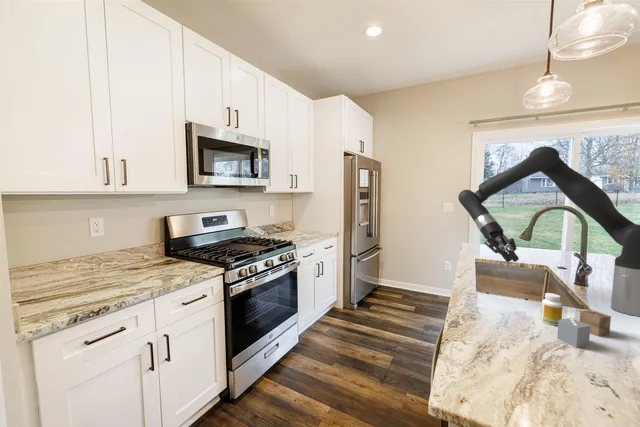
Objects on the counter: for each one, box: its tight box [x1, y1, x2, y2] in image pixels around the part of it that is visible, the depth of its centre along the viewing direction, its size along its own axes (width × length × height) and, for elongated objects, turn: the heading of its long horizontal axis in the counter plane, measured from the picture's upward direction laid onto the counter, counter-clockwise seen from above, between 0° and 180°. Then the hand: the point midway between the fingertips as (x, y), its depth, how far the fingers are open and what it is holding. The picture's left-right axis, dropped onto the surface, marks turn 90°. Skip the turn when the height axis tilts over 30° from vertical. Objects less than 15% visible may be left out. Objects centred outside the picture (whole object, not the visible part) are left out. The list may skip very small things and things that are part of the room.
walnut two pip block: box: [579, 309, 612, 337], centre depth 86 cm, size 5×5×6 cm
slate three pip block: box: [556, 317, 591, 349], centre depth 80 cm, size 5×5×6 cm
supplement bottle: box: [540, 292, 564, 327], centre depth 92 cm, size 5×5×10 cm
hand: (513, 260), depth 106 cm, fingers open, 3 cm apart
